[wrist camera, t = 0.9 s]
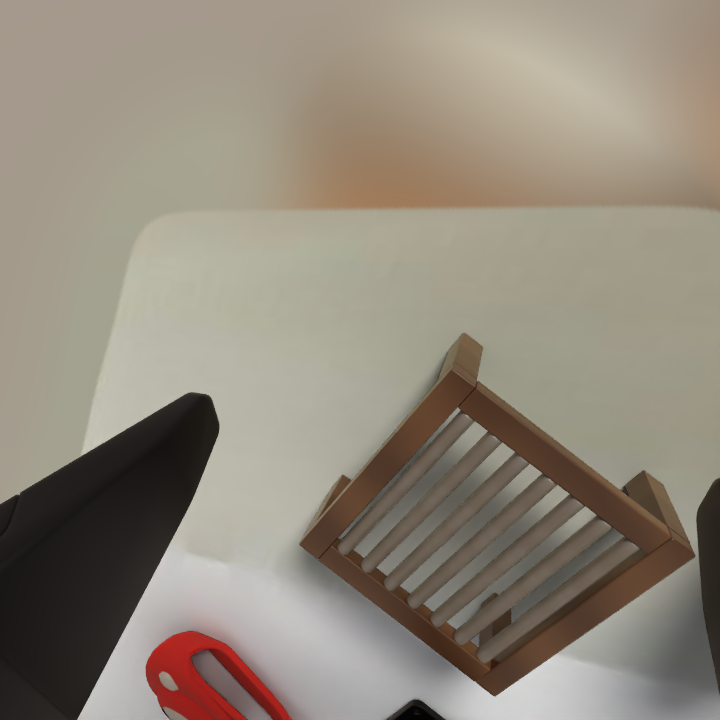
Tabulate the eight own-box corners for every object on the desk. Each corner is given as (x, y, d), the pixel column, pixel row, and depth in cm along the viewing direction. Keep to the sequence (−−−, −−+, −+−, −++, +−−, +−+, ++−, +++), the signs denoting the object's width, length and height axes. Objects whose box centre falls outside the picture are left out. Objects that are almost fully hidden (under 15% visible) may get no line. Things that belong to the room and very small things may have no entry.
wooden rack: (498, 616, 31) (494, 698, 26) (331, 487, 31) (298, 544, 26) (663, 485, 26) (697, 557, 21) (464, 331, 26) (452, 368, 21)
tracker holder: (166, 735, 41) (105, 662, 36) (203, 678, 44) (152, 604, 39) (295, 808, 35) (243, 733, 30) (327, 736, 38) (285, 658, 33)
